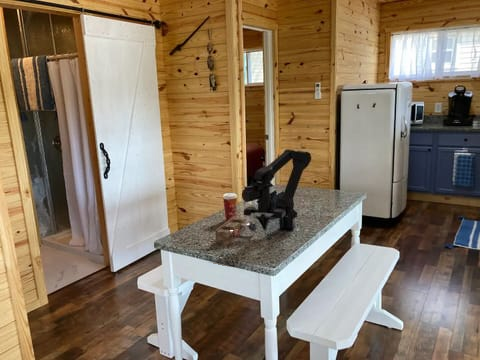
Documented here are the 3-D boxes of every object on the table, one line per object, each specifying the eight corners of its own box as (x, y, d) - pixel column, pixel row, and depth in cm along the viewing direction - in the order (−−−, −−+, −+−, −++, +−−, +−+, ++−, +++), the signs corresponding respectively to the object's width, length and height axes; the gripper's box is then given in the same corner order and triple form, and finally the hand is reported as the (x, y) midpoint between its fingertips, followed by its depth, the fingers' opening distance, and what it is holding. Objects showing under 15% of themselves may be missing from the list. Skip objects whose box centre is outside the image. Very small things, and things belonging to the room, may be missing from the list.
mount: (245, 229, 193) (245, 217, 192) (228, 245, 175) (227, 231, 174) (234, 228, 195) (234, 216, 194) (216, 243, 178) (215, 230, 176)
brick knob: (240, 236, 180) (240, 227, 179) (236, 239, 176) (236, 230, 175) (224, 234, 183) (224, 226, 182) (220, 237, 180) (220, 229, 179)
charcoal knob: (256, 229, 187) (256, 221, 186) (253, 232, 184) (253, 224, 183) (241, 227, 190) (240, 219, 189) (237, 230, 187) (237, 222, 186)
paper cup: (233, 223, 203) (231, 197, 200) (221, 221, 207) (219, 195, 204) (241, 218, 209) (240, 193, 206) (229, 217, 213) (227, 192, 210)
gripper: (288, 194, 183) (289, 225, 186) (251, 191, 190) (253, 222, 194) (281, 200, 173) (282, 234, 177) (242, 198, 180) (244, 230, 184)
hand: (265, 229), depth 183 cm, fingers closed
